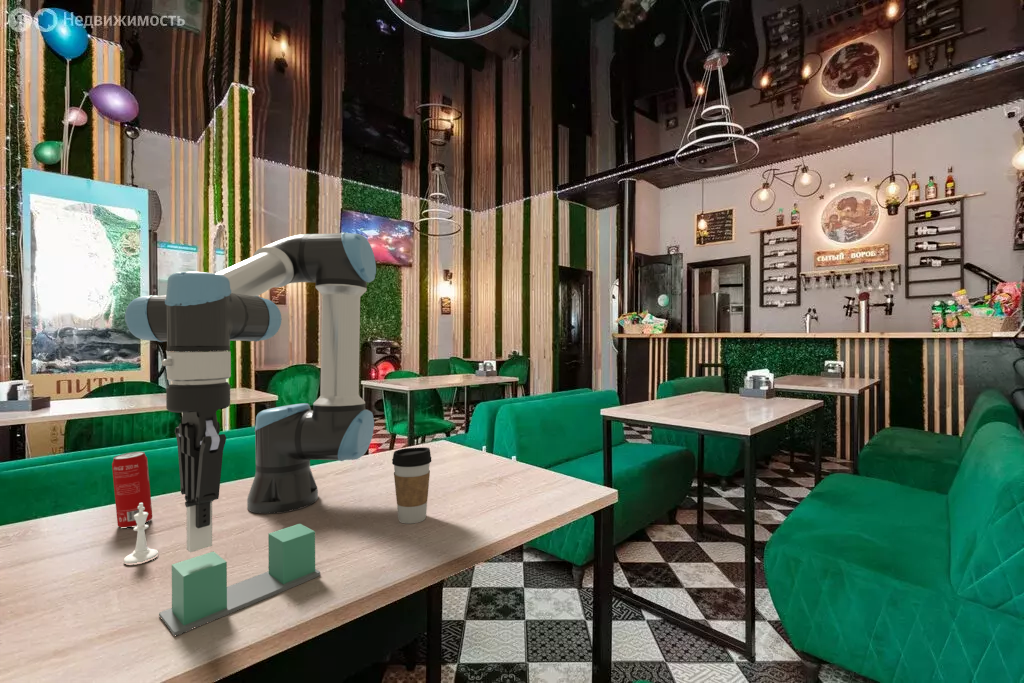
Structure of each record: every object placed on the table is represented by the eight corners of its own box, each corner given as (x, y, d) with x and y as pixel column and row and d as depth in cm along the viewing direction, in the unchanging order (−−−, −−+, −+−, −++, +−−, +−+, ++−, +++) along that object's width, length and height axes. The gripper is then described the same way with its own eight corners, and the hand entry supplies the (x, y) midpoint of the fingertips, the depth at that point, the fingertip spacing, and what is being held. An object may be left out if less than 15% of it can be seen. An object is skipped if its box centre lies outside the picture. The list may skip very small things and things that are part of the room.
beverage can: (158, 521, 99) (157, 451, 99) (122, 532, 93) (121, 458, 93) (142, 516, 101) (142, 449, 101) (106, 527, 95) (106, 455, 95)
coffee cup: (422, 527, 95) (422, 455, 95) (385, 524, 96) (384, 453, 96) (437, 512, 103) (437, 446, 103) (402, 510, 104) (402, 444, 104)
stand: (159, 616, 64) (158, 565, 64) (299, 562, 80) (299, 521, 80) (174, 636, 60) (174, 582, 60) (320, 575, 75) (320, 531, 75)
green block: (171, 611, 65) (171, 564, 65) (213, 595, 69) (213, 551, 69) (183, 625, 61) (183, 576, 61) (226, 607, 65) (226, 561, 65)
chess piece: (129, 568, 78) (129, 510, 78) (118, 561, 81) (118, 504, 81) (163, 557, 82) (163, 501, 82) (152, 550, 85) (151, 496, 85)
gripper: (153, 381, 66) (153, 544, 66) (182, 386, 58) (183, 572, 58) (212, 378, 72) (212, 527, 72) (246, 382, 64) (246, 551, 64)
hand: (199, 547), depth 65 cm, fingers closed
